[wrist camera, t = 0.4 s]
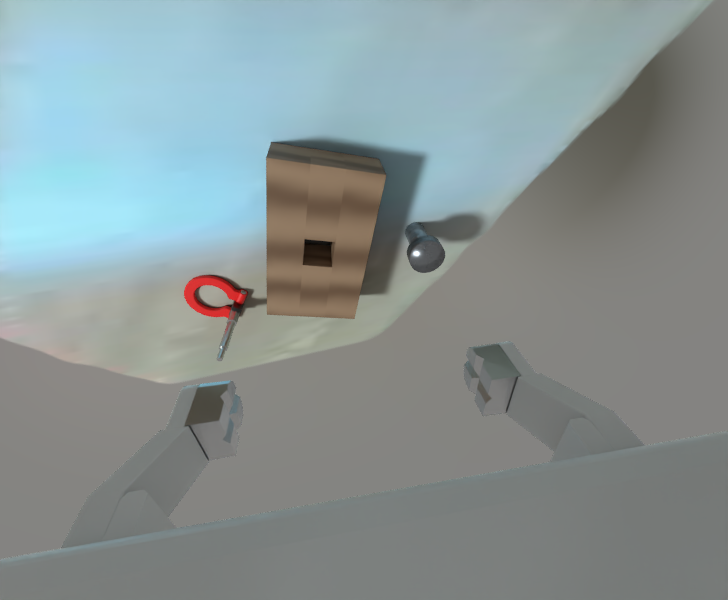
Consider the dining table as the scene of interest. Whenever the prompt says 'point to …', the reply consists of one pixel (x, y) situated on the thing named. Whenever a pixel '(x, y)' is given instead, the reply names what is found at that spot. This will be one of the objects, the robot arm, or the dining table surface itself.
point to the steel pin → (423, 249)
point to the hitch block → (319, 229)
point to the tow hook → (225, 311)
